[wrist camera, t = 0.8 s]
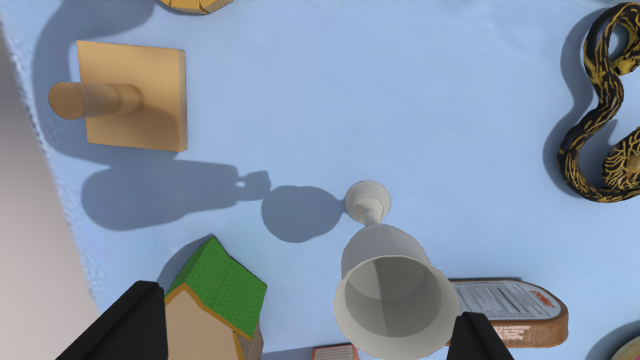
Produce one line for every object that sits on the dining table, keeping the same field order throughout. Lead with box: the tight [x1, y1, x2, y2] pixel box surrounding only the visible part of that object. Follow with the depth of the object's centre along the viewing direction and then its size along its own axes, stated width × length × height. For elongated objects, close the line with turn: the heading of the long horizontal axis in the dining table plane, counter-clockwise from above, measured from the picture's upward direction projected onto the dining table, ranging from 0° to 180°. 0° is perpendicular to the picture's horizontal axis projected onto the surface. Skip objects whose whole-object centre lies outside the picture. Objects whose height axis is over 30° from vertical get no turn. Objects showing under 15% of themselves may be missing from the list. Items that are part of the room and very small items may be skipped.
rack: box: [48, 40, 188, 152], centre depth 29 cm, size 10×10×10 cm
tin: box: [445, 279, 568, 348], centre depth 34 cm, size 15×3×8 cm, turn 94°
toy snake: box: [557, 2, 640, 203], centre depth 30 cm, size 18×5×10 cm
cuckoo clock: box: [164, 237, 267, 360], centre depth 39 cm, size 12×8×30 cm
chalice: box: [333, 181, 460, 360], centre depth 27 cm, size 7×7×18 cm
